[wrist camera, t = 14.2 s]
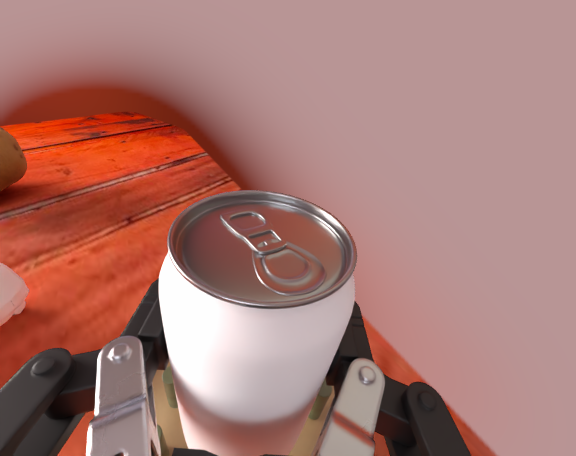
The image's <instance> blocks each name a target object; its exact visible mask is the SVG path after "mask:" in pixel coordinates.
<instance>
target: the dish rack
mask: <svg viewBox="0 0 576 456" xmlns="http://www.w3.org/2000/svg"><path fill="white" fill-rule="evenodd" d="M152 382H153V392H154V401H155V411H156V421H157V430H158V436H159V442H160V448H161V456H172V453H173V450H174V448H186V449H189V448H188V446H187V443H186V440H185V437H184V433H183V429H182V424H181V419H180V414H179V409H178V403H177V398H176V393H175V388H174V382H173V377H172V371H171V366H170V361H169V363H168V365H167V368H166V370H157V371H156V374H155V376H154V378H153V381H152ZM334 396H335V393H334V386H328V385H326V377H325V379H324V381H323V384H322V386H321V388H320V391H319V393H318V395H317V397H316V400H315V402H314V404H313V406H312V409H311V411H310V413H309V415H308V418H307V420H306V422H305V424H304V427H303V429H302V431H301V433H300V435H299V437H298V439H297V441H296V443H295V445H294V447H293V448H292V450H291V451H290V453H289V454H288V455H287V456H311V454H312V451H313V449H314V447H315V445H316V442H317V440H318V437H319V434H320V432H321V429H322V426H323V424H324V421H325V419H326V416H327V413H328V411H329V408H330V405H331V403H332V400H333V398H334Z"/></svg>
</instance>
